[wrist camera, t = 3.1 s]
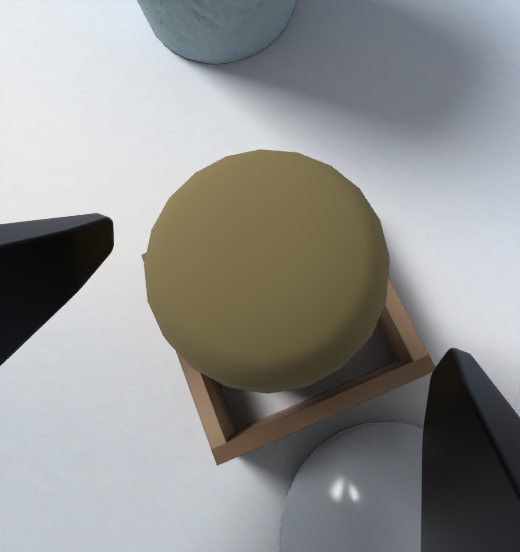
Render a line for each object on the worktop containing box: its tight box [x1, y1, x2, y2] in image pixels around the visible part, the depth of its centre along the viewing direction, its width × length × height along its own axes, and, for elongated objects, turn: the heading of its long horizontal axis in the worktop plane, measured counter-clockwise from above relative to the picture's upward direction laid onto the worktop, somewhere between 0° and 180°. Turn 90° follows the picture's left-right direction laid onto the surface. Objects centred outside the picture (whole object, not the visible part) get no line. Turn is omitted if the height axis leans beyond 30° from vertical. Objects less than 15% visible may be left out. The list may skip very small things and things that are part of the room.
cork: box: [144, 150, 389, 394], centre depth 12 cm, size 6×6×11 cm
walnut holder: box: [142, 253, 435, 466], centre depth 16 cm, size 9×9×2 cm
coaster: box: [280, 421, 423, 552], centre depth 15 cm, size 9×9×1 cm
